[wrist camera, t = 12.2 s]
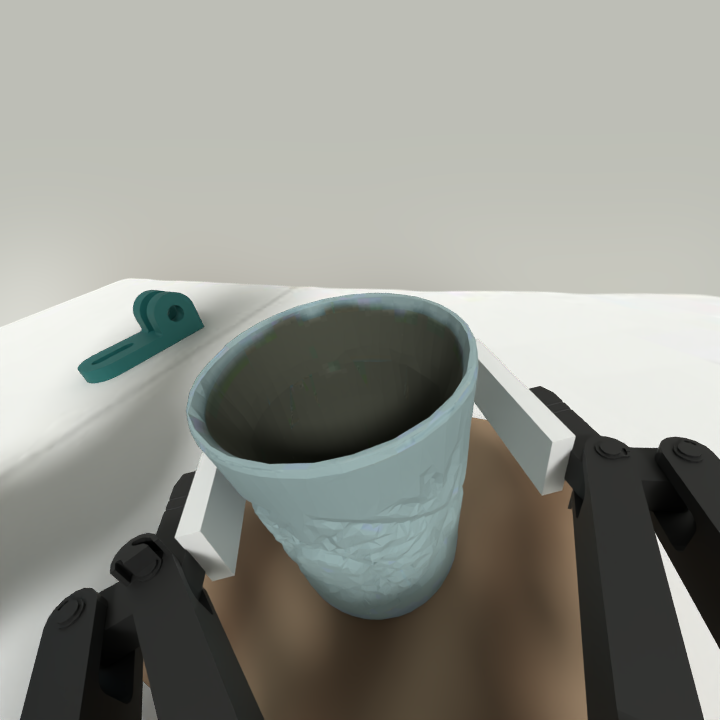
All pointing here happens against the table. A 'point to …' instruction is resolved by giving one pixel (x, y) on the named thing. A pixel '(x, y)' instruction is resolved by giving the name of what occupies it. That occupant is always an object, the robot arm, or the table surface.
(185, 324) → the bracket
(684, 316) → the table surface
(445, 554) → the blue green cup
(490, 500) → the walnut riser
